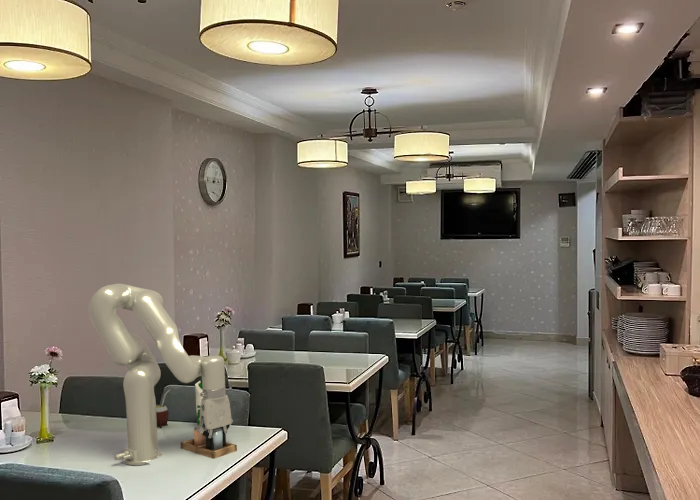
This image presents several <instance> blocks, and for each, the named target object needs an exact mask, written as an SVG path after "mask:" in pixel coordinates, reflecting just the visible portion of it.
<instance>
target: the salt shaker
mask: <svg viewBox="0 0 700 500" xmlns="http://www.w3.org/2000/svg"><path fill="white" fill-rule="evenodd" d="M212 438H213V443H214V449H213V450H211V451H216V450H219V449H222V448H223V434H222V427H219V428H216V429H213V431H212Z"/></svg>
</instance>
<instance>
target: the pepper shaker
mask: <svg viewBox="0 0 700 500" xmlns="http://www.w3.org/2000/svg"><path fill="white" fill-rule="evenodd" d="M198 426H199V425H197V424H196V425H194V426H193V439H194V446H201V445H204V444H206V437H204V435H202V434H201V433H199V432H198V431H197V428H198ZM203 430H205V428H203Z"/></svg>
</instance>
